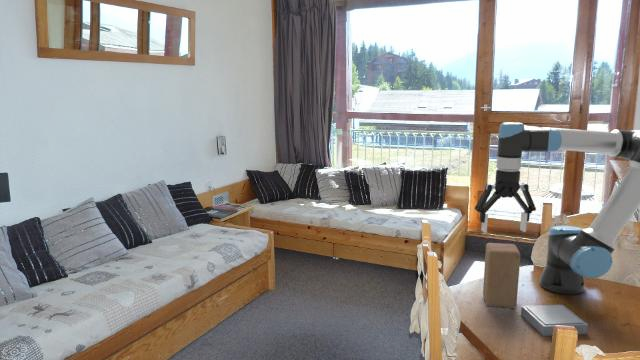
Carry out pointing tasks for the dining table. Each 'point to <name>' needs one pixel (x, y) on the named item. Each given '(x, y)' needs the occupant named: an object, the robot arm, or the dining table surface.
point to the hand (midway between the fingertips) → (503, 231)
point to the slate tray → (552, 318)
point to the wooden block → (501, 275)
